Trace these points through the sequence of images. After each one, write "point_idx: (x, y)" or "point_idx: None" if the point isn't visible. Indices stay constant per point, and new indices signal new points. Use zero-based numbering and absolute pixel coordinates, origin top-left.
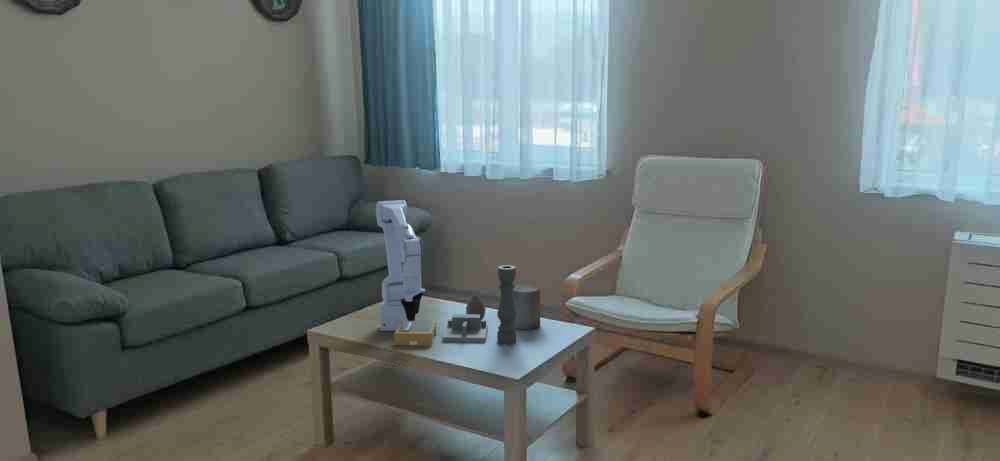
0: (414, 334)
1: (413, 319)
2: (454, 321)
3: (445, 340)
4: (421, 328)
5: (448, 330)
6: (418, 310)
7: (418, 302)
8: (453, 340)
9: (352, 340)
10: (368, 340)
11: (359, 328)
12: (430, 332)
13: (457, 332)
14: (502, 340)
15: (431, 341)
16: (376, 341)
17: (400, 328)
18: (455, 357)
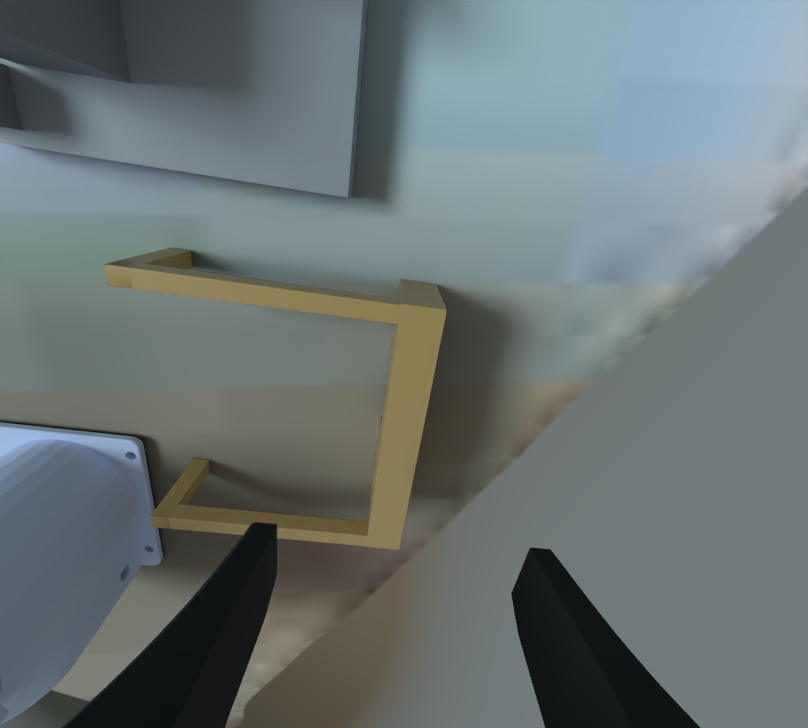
0: (420, 434)
1: (558, 569)
2: (43, 10)
3: (353, 170)
4: (56, 355)
5: (146, 128)
6: (262, 554)
7: (200, 687)
8: (358, 87)
9: (316, 637)
10: (317, 590)
11: (140, 629)
12: (410, 319)
13: (198, 18)
14: None
15: (438, 293)
16: (332, 562)
17: (259, 514)
18: (752, 89)
